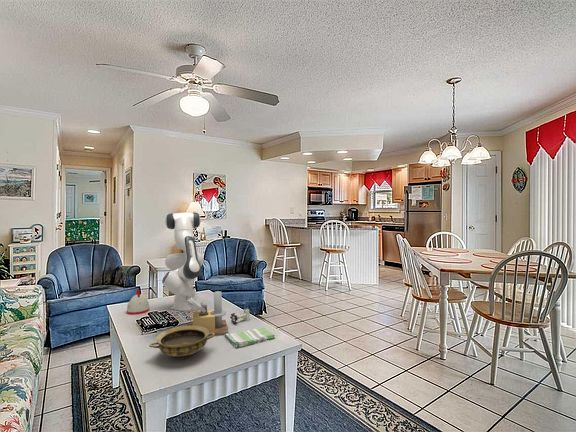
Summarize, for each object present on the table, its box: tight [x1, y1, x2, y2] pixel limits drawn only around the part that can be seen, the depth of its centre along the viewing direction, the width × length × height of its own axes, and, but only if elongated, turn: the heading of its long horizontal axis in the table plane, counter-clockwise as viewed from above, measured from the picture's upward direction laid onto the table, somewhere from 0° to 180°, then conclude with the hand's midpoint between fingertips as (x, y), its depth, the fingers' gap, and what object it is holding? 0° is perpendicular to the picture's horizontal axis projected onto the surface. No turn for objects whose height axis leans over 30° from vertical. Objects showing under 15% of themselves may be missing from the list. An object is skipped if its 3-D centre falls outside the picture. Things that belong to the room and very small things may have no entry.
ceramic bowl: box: [148, 325, 215, 359], centre depth 150 cm, size 30×24×10 cm
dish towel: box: [223, 326, 276, 349], centre depth 169 cm, size 17×23×4 cm
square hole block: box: [192, 290, 227, 331], centre depth 180 cm, size 12×18×20 cm, turn 106°
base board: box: [185, 319, 229, 338], centre depth 180 cm, size 20×23×2 cm
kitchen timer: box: [126, 289, 150, 316], centre depth 214 cm, size 14×14×15 cm
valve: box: [230, 308, 251, 325], centre depth 193 cm, size 7×7×12 cm
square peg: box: [201, 304, 208, 316], centre depth 179 cm, size 4×4×10 cm
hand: (204, 309), depth 179 cm, fingers open, 4 cm apart
